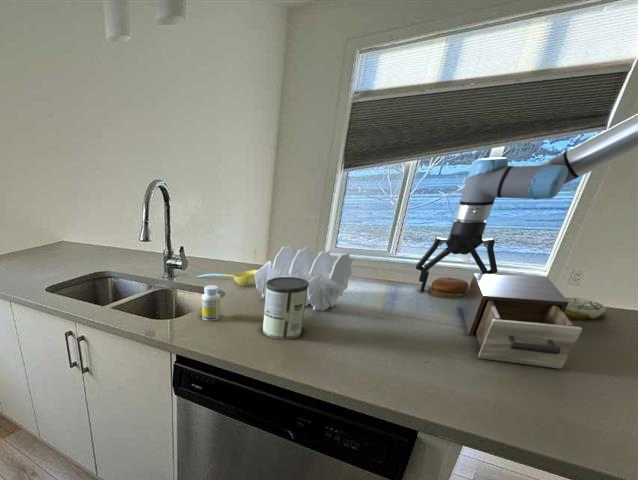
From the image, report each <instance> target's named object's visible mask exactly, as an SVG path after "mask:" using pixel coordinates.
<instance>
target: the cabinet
mask: <svg viewBox="0 0 638 480" xmlns="http://www.w3.org/2000/svg"><path fill="white" fill-rule="evenodd" d="M565 297H566V296H564V295H563V293H562V292H561V291H560V290H559V289H558V288H557V286H556V285H555V284H554V283H553V282H552V281H551V280H550V278H549V277H547V276H530V275H512V274H511V275H510V274H495V273H492V274H478V273H473V275H472V278H471V280H470V284H469V288H468V290H467V291H466V295H465V298H464V301H463V303H462V307H461V313H462V316H463V321H464V324H465V328H466V332H467V336H469V337H477V335H476V332H475V327H476V325H477V322H478V320H479V317H480V314H481V312H482V309H483V306H484V304H485V301H486V299H487V300H500V301H514V302H527V303H540V304H553V305H558V306H559V308H560V309H561V310H562V312H563V313H564V311H565V309H566V307H567V305H568V303H569V302H568V300H567V299H566V298H565Z"/></svg>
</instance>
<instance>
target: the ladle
mask: <svg viewBox="0 0 638 480" xmlns="http://www.w3.org/2000/svg"><path fill="white" fill-rule="evenodd" d="M258 270H259V269H250V270H246V271H243V272H239V273H236V274H227V273H206V274H201V275H197V278H205V277H233V278H234V281H235V282H236V284H238V285H240V286H242V287H249V286H251V285H253V284H255V277H254V273H255V272H256V271H258Z"/></svg>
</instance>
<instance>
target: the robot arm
mask: <svg viewBox="0 0 638 480" xmlns="http://www.w3.org/2000/svg"><path fill="white" fill-rule="evenodd" d="M637 150H638V113H636V114H635V115H633V116H631V117H628V118H627V119H624V120H623V121H620V122H619V123H617V124H616V125H614V126H612V127H610V128H608V129H606V130H604V131H602V132H600V133H599V134H596V135H595V136H592V137H591V138H589V139H587V140H585V141H582V142H581V143H579V144H577V145H576V146H574V147H571V148H570V149H567V150H566V151H564V152H562V153H560V154H558V155H556V156H554V157H552V158H550V159H548V160H546V161H544V162H542V163H538V164H535V165H518V166H517V165H509V158H508V157H484V158H478V159H475V160H474V161H473V162H472V163H471V166H470V169H469V172H468V174H467V176H466V178H465V179H466V180H465V182H464V185H463V186H464V187H463V190H462V193H461V197H460V201H459V203H458V205H457V209H456V212H455V216H454V219H455V220H454V221H453V222H452V226H451V228H450V232H449V234H448V237H446V238H443V237H440V236H436V237H435V238H434V241H433V243H432V245H431V246H430V247H429V249H428V250H427V251H426V252H425V253H424V255H423V256H422V257H421V259H420V260H419V261H418V262H417V263H416V265H415V270H418V271H420V273H419V274H420V275H419V279H418V282H419V283H421V286H420V290H419V291H420V293H424V292H425V288H426V285H427V281H428V278H429V275H430V269H431V268H433V267H434V266H435V265H436V264H438V263H439V262H441V261H442V260H443V259H444V258H445V257H447V256H449V255H450V254H453V255H468V254H470V255H471V256H472V258H473V260H474V261H475V263H476V265H477V267H478V268H479V270H480V272H478V273H477V274H497V273H498V267H497V262H496V256H495V251H494V248H495V247H494V246H495V243H496V241H495V239H494V238H493V237H490V238H483V235H484V232H485V230H486V226H487V219H489V218H490V215H491V211H492V209H493V205H494V203H495V201H496V199H524V200H525V199H527V200H528V199H529V200H535V201H536V200H549V199H553V198H555V197H556V196H557V195H558V194H559V193H560V192H561V190H562V188H563V186H564V185H565V184H568V183H570V182H572V181H574V180H576V179H578V178H580V177H582V176H585V175H587V174H589V173H591V172H593V171H595V170H598V169H600V168H601V167H603V166H605V165H608V164H610V163H612V162H614V161H616V160H619V159H621V158H623V157H624V156H626V155H629V154H632V153H633V152H635V151H637ZM443 244H445V245H446V246H447V247H446V248H444V249H443V250H442V251H441V252H440V253H438V255H436V256H434V257H433V258H432V259H431V260H430V261H428V260H429V259H430V258H431V256H432V255H433V254H434V253H435V252H436V250H437V249H438V248H439V247H441V246H443ZM481 245H483V246H484V248H486V253H487V258H488V263H489V268H487V267H486V266H485V264H484V262H483V260H482V259H481V257H480V255H479V254H478V252H477V248H478V247H480V246H481ZM426 262H428V263H426Z"/></svg>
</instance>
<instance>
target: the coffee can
mask: <svg viewBox="0 0 638 480" xmlns="http://www.w3.org/2000/svg"><path fill="white" fill-rule="evenodd" d="M266 286H267V287H266V297H264V298H265V300H264V312H263V324H262V333H264V334H265V335H266V336H268V337H271V338H274V339H293V338H297V337H299V336H301V335H302V332H303V331H302V330H303V324H304V316H305V309H306V306H305V303H306V296H307V289H308V286H309V282H308V281H306V280H304V279H300V278H294V277H280V278H274V279H270V280H268V281H267V282H266Z"/></svg>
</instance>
